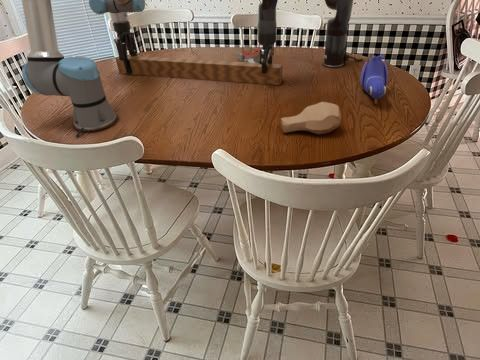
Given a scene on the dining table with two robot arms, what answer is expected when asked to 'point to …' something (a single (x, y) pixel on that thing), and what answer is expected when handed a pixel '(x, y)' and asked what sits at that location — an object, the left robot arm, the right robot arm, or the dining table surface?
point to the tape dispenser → (249, 56)
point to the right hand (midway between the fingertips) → (266, 70)
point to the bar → (203, 69)
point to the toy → (374, 77)
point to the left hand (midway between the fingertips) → (132, 71)
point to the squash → (314, 119)
